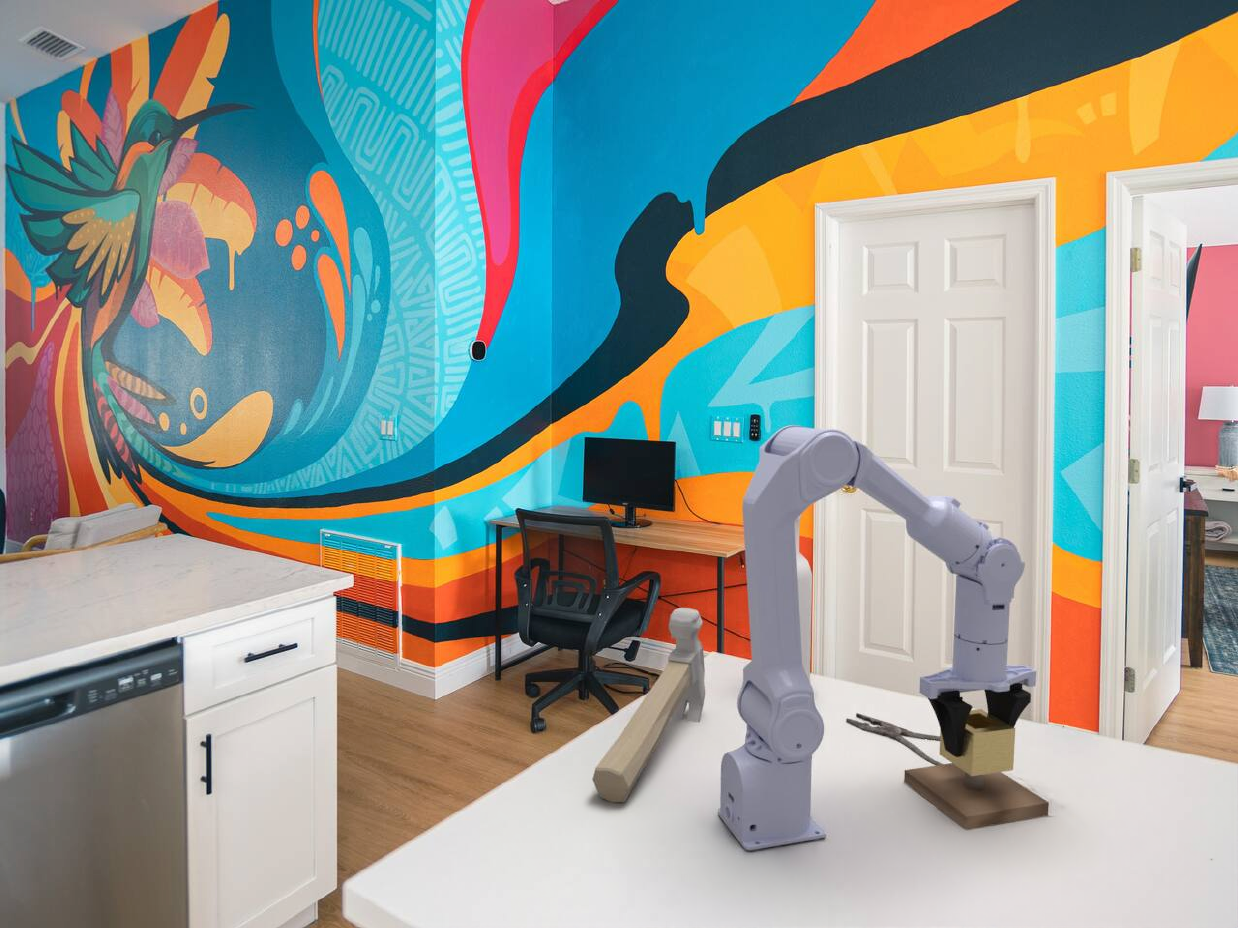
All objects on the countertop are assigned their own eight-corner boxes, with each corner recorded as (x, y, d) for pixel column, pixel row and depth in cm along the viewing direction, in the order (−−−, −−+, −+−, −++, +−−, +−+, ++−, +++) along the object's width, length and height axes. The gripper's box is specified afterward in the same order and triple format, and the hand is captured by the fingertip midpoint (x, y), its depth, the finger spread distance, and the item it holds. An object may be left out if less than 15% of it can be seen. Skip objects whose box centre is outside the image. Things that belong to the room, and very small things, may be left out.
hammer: (622, 734, 89) (704, 608, 115) (584, 726, 91) (674, 604, 117) (634, 847, 94) (711, 702, 119) (598, 838, 96) (681, 697, 121)
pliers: (984, 777, 98) (828, 734, 110) (984, 784, 98) (828, 740, 110) (1001, 748, 106) (853, 711, 117) (1000, 754, 106) (853, 717, 118)
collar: (971, 776, 90) (973, 733, 89) (939, 754, 95) (941, 713, 95) (1013, 769, 91) (1015, 728, 91) (979, 748, 97) (980, 708, 96)
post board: (966, 829, 87) (968, 777, 86) (904, 781, 98) (905, 734, 97) (1048, 814, 90) (1051, 764, 89) (979, 770, 101) (981, 724, 100)
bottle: (800, 710, 119) (804, 512, 116) (750, 699, 123) (753, 508, 120) (816, 693, 126) (821, 505, 123) (769, 683, 130) (772, 501, 127)
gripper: (950, 653, 86) (945, 773, 87) (1059, 641, 90) (1052, 756, 91) (909, 633, 93) (905, 745, 94) (1012, 623, 97) (1007, 731, 98)
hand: (975, 749), depth 93 cm, fingers closed on collar, 6 cm apart
